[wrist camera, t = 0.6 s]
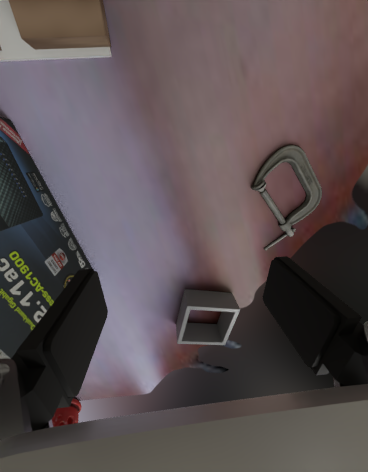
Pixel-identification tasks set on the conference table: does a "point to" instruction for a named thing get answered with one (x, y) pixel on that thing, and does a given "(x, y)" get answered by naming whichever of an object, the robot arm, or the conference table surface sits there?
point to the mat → (16, 49)
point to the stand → (61, 23)
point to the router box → (29, 244)
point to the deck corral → (201, 331)
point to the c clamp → (306, 179)
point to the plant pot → (67, 414)
